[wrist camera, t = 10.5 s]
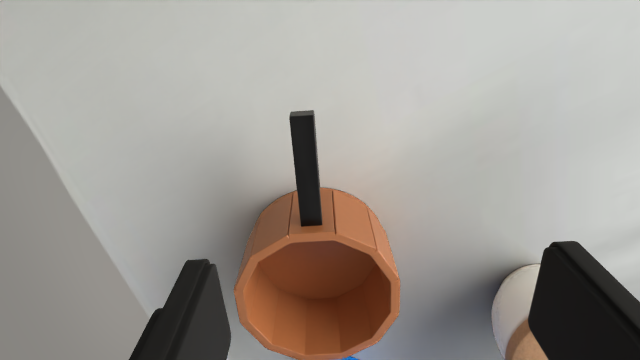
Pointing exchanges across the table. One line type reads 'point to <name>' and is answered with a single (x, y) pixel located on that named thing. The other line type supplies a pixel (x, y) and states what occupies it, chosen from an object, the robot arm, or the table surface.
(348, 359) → the thermos
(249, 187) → the table surface
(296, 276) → the copper saucepan
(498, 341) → the trinket box
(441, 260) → the table surface
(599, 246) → the table surface
